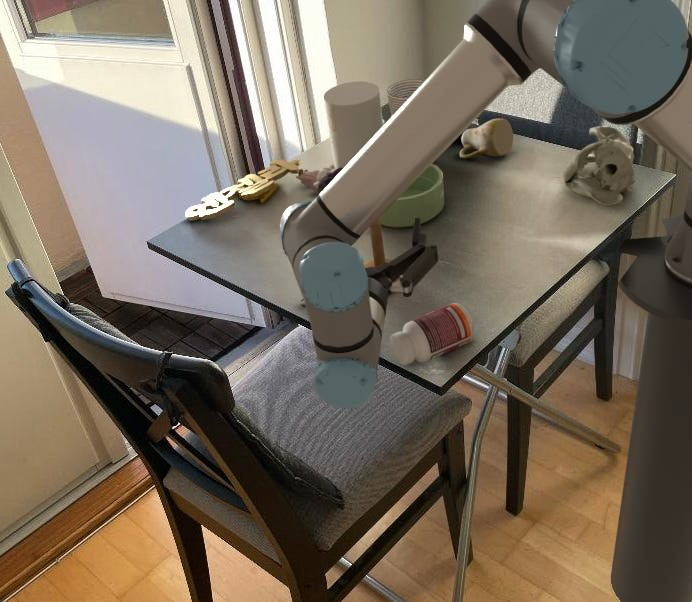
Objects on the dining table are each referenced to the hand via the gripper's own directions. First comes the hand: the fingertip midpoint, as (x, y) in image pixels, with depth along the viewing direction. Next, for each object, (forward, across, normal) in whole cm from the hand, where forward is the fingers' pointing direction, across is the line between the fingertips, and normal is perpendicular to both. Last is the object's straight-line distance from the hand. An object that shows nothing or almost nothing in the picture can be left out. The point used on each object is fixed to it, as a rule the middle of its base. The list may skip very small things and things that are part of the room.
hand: (373, 227), depth 124 cm
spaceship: (+49, +13, -7) cm, 51 cm away
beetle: (-4, -8, -9) cm, 13 cm away
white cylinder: (+40, -8, -11) cm, 42 cm away
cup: (+40, +3, -11) cm, 42 cm away
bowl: (+24, +2, -11) cm, 26 cm away
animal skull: (+27, +38, -12) cm, 48 cm away
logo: (+31, -25, -10) cm, 41 cm away
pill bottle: (-14, +14, -8) cm, 21 cm away
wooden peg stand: (+1, 0, -11) cm, 11 cm away
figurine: (+29, -14, -11) cm, 34 cm away
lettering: (+30, -30, -10) cm, 44 cm away
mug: (+43, +16, -11) cm, 47 cm away
